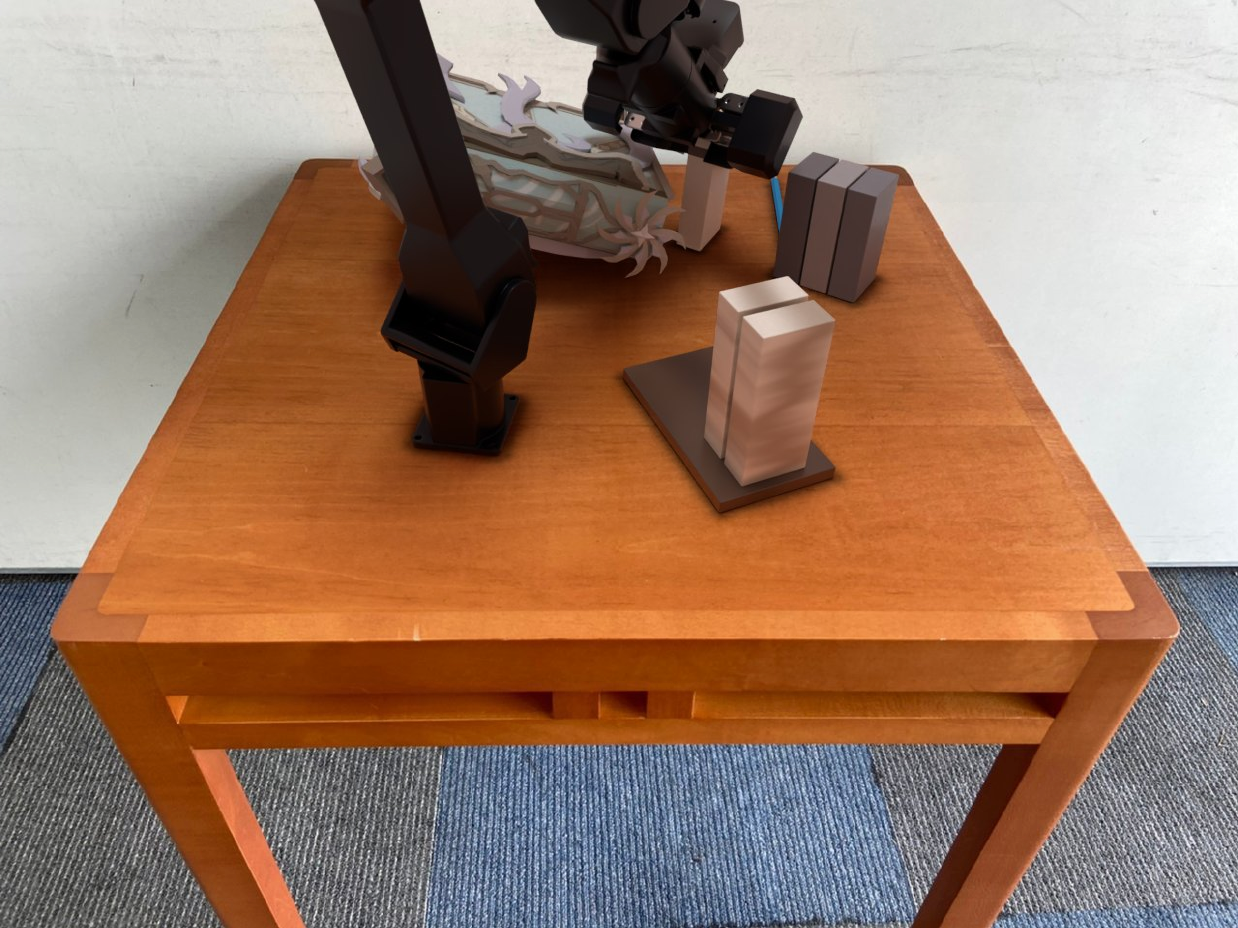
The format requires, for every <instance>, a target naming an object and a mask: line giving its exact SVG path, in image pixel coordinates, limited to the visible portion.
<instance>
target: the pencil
mask: <svg viewBox="0 0 1238 928" xmlns="http://www.w3.org/2000/svg"><path fill="white" fill-rule="evenodd" d="M779 181H780V180H779V179H778V176H776V177H774V178H772V179H770V183H771V190H772V196H773V202H774V209H775V215H776V220H777V227H778V233H779V232H780V225H781V218H782V212H783V205H784V203H783V199H782V193H781V188H780V182H779Z"/></svg>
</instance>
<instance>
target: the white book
mask: <svg viewBox="0 0 1238 928" xmlns="http://www.w3.org/2000/svg"><path fill="white" fill-rule="evenodd" d="M719 111H721V112H722V110H721V109H720V110H719ZM709 129H710V128H709ZM710 143H711V142H709V141H706V140H702V139H699V138H698V140H697V142H696V144H695V147H692V146H689V149H688V154H687V158H686V159H687V160H686V167H685V173H684V174H685V175H684V183H683V190H682V198H681V206H680V208H681V209H684V210H686V211H683V212H679V213H680V214H679V221H678V227H677V233H680V234H681V236H682V237H683V238H684V242H685V247H686V248H688V249H690V250H694V251H698V252H701V251H702V250H703V249H704V247H705V246H707V244H708V243H709V242H710V241H711V240H712V239H713V237H715V235H716V234H717V233H718V232H719V231H720V230H721V224H722V220H723V219H722V218H723V213H724V207H725V201H726V195H727V189H728V183H729V178H730V177H729V176H730V171H731V169H726V168H722V167H719V166H715V165H712V164H709V163H705V162H703V159H704V157H705V155H706V152H707V150H708V147H709V145H710ZM676 245H679V246H682V245H681V244H680V242H678V241H676Z"/></svg>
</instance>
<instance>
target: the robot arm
mask: <svg viewBox="0 0 1238 928" xmlns="http://www.w3.org/2000/svg"><path fill="white" fill-rule="evenodd" d="M533 1H534V3H535V5H536V6H537V7H538V9H539V11H540V13H541V14H542V16H543V17H544V19H545V21H546V22H547V24H548V25H549V27H550V29H551V30H552V31H553V33H554V34H555V35H557V36H558V37H560V38H562V39H565V40H569V41H573V42H577V43H582V44H586V45H589V46H593V47H596V48H595V59H594V60H593V61H592V64H591V65H592V67H591V70H590V72H589V75H588V76H587V77H588V78H587V82H586V83H587V84H586V94H585V96H584V98H583V100H582V103H581V109H582V114H583V118H584V121H585V122H586V123H587V124H588V125H589V126H590V127H591V128H592V129H594V130H598V131H601V132H605V133H608V134H612V135H615V136H617V135H620V134H621V131H622V129H623V128H622V126H621V125H620V124H619V121H620V120H622V116H623V114H624V111H625V112H627V113H626V116H625V119H624V120H623V121H624V125H625V126H626V127H629V128H633V129H632V131H631V134H630V137H631V140H632V141H634V142H636V143H640V144H643V145H646V146H650V147H653V149H658V150H664V151H670V152H675V153H678V152H681V153H684V154H686V155H688V149H689V146H692V147H695V144H696V142H697V140H698V138H699V139H702V140H706V141H709V142H711V143H710V145H709V147H708V150H707V152H706V155H705V157H704V159H703V162H705V163H709V164H712V165H715V166H719V167H722V168H726V169H730V170H733V169H734V170H737V171H738V172H741V173H744V174H746V175H750V176H752V177H753V176H754V177H757V178H761V179H765V180H767V181H771V179H772V178H774V177H778V176H779V174H780V172H781V169H782V167H783V165H784V163H785V160H786V158H787V156H788V154H789V151H790V148H791V146H792V144H793V141H794V139H795V136H796V134H797V132H798V130H799V127H800V125H801V123H802V121H803V118H804V115H803V112H802V110H801V108H800V105H799V104H798V102H797V100H796V98H795V97H792V96H787V95H784V94H780V93H775V92H771V91H767V90H763V89H759V88H756V89H755V90H753V92H751V93H750V94H749V96H746V95H742V94H738V93H734V92H727V93H725V94H724V95H723V96H721V97H717V94H718V93H719V94H723V93H724V92H725V89H726V86H727V84H728V82H729V77H728V76H727V74H726V72H725V71H724V70H725V69H726V68H727V66H728V65H729V63H730V62H731V61H732V59H733V57H734V56H735V55H736V53H737V52H738V50H739V48H741V47H742V46H743V44H744V42H745V36H744V28H743V21H742V14H741V7H740V5H739V3H737V2H735V1H731V0H533ZM313 2H314V3H315V6H316V7H317V10H318V12H319V15H320V18H321V19H322V22H323V24H324V27H325V29H326V32H327V34H328V37H329V40H330V42H331V44H332V46H333V49H334V52H335V54H336V56H337V58H338V62H339V63H340V66H341V68H342V71H343V74H344V76H345V78H346V81H347V84H348V86H349V88H350V90H351V93H352V95H353V98H354V101H355V103H356V105H357V108H358V110H359V112H360V115H361V117H362V120H363V122H364V125H365V127H366V129H367V132H368V134H369V137H370V139H371V141H372V144H373V148H374V147H375V149H376V151H377V154H378V156H379V159H380V161H381V164H382V166H383V169H384V171H385V173H386V176H387V178H388V181H389V183H390V186H391V188H392V190H393V193H394V195H395V198H396V200H397V203H398V205H399V208H400V210H401V212H402V215H403V217H404V220H405V222H404V223H405V229H404V232H403V236H402V237H401V238H402V239H401V242H400V245H399V248H398V252H397V261H398V264H399V268H400V272H401V276H402V279H401V281H400V284H399V286H398V289H397V291H396V293H395V296H394V297H393V300H392V303H391V305H390V307H389V309H388V311H387V314H386V316H385V318H384V320H383V322H382V324H381V328H380V335H381V337H382V338H383V340H384V341H385V343H386V344H387V346H388V347H389V349H390V350H392V351H393V352H396V353H398V352H399V353H402V354H403V355H406V356H407V357H408V356H409V357H411V358H412V359H415V360H416V365H417V370H418V375H419V382H420V388H421V393H422V394H421V395H422V400H423V406H424V411H423V413H422V415H421V418H420V419H419V422H418V423H417V426H416V427H415V429H414V432H413V434H412V436H411V443H412V446H414V447H418V448H425V449H426V448H427V449H434V450H435V449H436V450H443V451H451V452H460V453H461V452H463V453H469V454H479V455H488V456H497V455H499V454H501V453H502V451H503V448H504V445H505V442H506V440H507V438H508V435H509V433H510V430H511V426H512V424H513V421H514V418H515V416H516V414H517V410H518V408H519V405H520V397H519V396H518V395H517V394H513V393H505V391H504V380H503V379H504V377H505V376H507V375H508V374H509V373H511V372H512V371H513V370H515V369H516V368H517V367H518V366H519V365H521V364H522V363H523V362H525V361H526V359H527V357H528V352H529V347H530V341H531V336H532V329H533V324H534V318H535V312H536V306H537V299H538V296H537V295H538V293H537V289H538V288H537V280H536V275H535V272H534V270H535V269H538V268H539V265H540V263H539V261H538V260H537V259H536V258H535V256H534V254H533V252H532V248H530V243H529V235H528V229H527V227H526V225H525V223H524V221H523V219H522V218H521V217H519V216H516V215H513V214H510V213H507V212H504V211H502V210H499V209H496V208H493V207H490V206H487V205H485V204H484V202H483V199H482V196H481V193H480V190H479V187H478V183H477V180H476V177H475V174H474V171H473V167H472V164H471V161H470V158H469V155H468V151H467V148H466V145H465V142H464V139H463V136H462V132H461V129H460V126H459V123H458V120H457V116H456V113H455V110H454V107H453V104H452V100H451V97H450V94H449V91H448V88H447V85H446V81H445V78H444V75H443V72H442V69H441V65H440V62H439V59H438V56H437V53H438V52H437V50H436V46H435V44H434V40H433V36H432V34H431V30H430V27H429V24H428V21H427V18H426V14H425V11H424V9H423V5H422V2H421V0H313ZM720 109H721V110H722V112H721V111H719V110H720ZM709 128H710V129H709Z"/></svg>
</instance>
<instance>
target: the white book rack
mask: <svg viewBox="0 0 1238 928" xmlns="http://www.w3.org/2000/svg"><path fill="white" fill-rule="evenodd" d="M716 309H717V310H716V319H715V329H714V337H713V338H714V339H713V345H712V346H708V347H704V348H700V349H696V350H692V351H688V352H684V353H679V354H676V355H672V356H667V357H664V358H660V359H656V360H652V361H647V362H643V363H639V364H634V365H631V366H627V367H623V368H622V379H623V380H624V382H625V383H626V385H627V386H628V387H629V389H630V390H631V392H632V393H633V395H634V396H635V397H636V399H637V400H638V401H639V403H640V404H641V406H642V408H643V409H644V410H645V411H646V413H647V414H648V416H649V417H650V418H651V420H652V421H653V423H654V424H655V426H656V427H657V428H658V430H659V431H660V433H661V434H662V435H663V437H664V438H665V440H666V441H667V442H668V444H669V445H670V446H671V448H672V449H673V451H674V452H675V453H676V455H677V456H678V458H679V459H680V460H681V462H682V463H683V464H684V466H685V467H686V469H687V470H688V471H689V473H690V474H691V476H692V477H693V479H694V480H695V482H696V483H697V484H698V486H699V487H700V488H701V490H702V491H703V492H704V494H705V496H706V497H707V498H708V501H710V503H711V504H712V505H713V507H714V508H715V509H716V511H717V512H718V513H720V514H721V513H724V512H727V511H730V510H733V509H736V508H740V507H743V506H746V505H749V504H753V503H757V502H759V501H762V500H765V499H769V498H772V497H775V496H779V495H782V494H785V493H788V492H792V491H795V490H797V489H801V488H804V487H807V486H811V485H814V484H817V483H820V482H825V481H826V480H831V479H834V477H835V472H836V469H837V468H836V465H834V463H833V462H832V461H831V460H830V459H829V458H828V457H827V455H825V453H824V452H823V451H822V450H821V449H820V448H819V447H818V445H817V444H816V443H815V442H814V441H813V440H812V436H813V432H814V427H815V423H816V422H815V421H816V418H817V417H816V416H817V412H818V411H817V410H818V408H819V407H818V406H819V402H820V398H821V392H822V388H823V383H824V378H825V373H826V370H827V363H828V359H829V354H830V349H831V345H832V340H833V337H834V330H835V325H836V319H835V318H834V317H833V316H832V315H831V314H829V313H828V312H827V311H826V310H825V309H824V308H823V307H822V306H821V305H820V304H819V303H818V302H816V301H815V300H814V299H810V300H809V294H808V293H807V292H806V290H804V289H802V287H801V286H800V285H798V284H796V283H795V282H794V281H793V280H792V279H791V278H789V277H788V276H786V277H782V278H777V277H776V278H774V279H768V280H764V281H760V282H755V283H752V284H747V285H743V286H738V287H734V288H730V289H725V290H720V291H719V292H718V299H717V308H716Z"/></svg>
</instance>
